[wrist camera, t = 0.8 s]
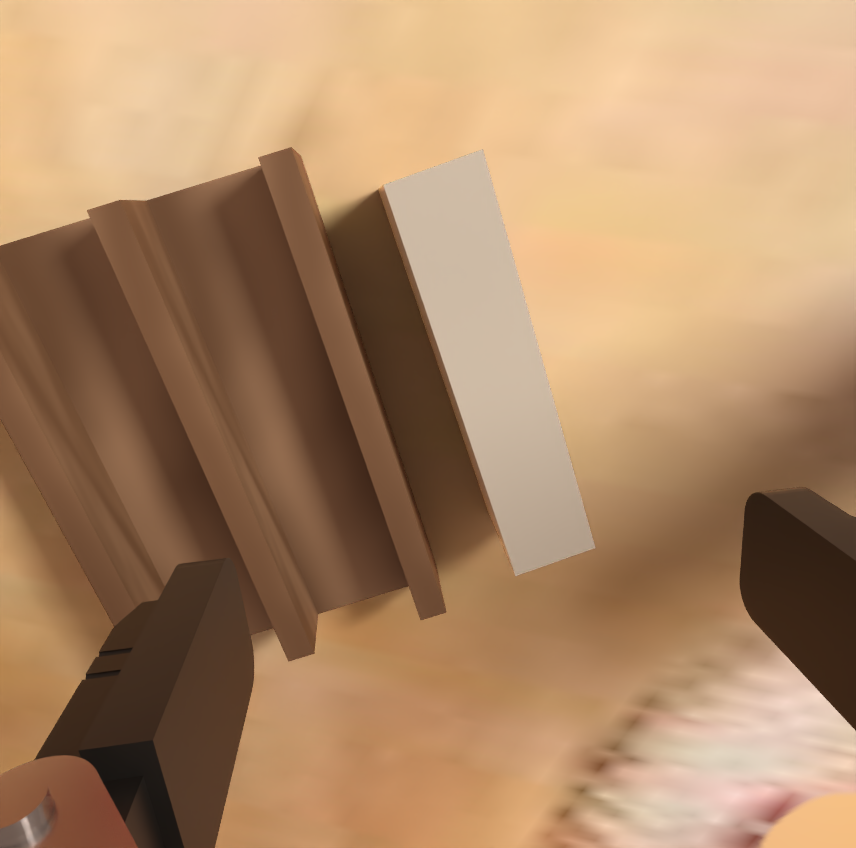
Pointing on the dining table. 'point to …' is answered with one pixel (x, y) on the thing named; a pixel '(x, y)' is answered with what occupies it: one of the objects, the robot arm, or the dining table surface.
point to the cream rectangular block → (489, 357)
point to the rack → (209, 403)
